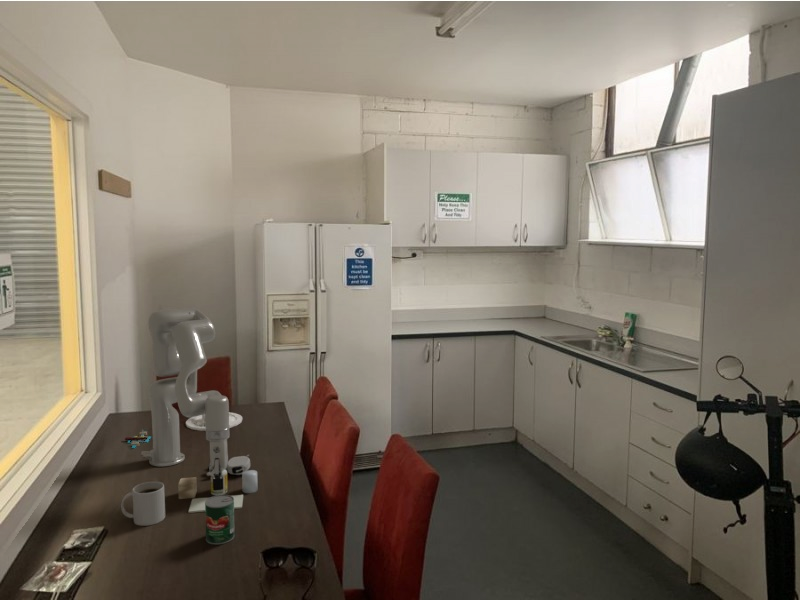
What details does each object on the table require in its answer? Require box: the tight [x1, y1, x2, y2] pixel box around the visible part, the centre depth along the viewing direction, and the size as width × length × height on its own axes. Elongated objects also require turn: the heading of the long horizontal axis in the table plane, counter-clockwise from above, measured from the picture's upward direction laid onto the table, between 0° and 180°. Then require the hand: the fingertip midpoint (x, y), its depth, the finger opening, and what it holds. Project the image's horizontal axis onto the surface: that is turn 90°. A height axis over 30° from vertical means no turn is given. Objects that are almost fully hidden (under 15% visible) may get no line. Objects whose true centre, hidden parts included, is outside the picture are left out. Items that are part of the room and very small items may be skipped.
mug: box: [120, 481, 166, 527], centre depth 178 cm, size 11×10×10 cm
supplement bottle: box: [210, 467, 228, 496], centre depth 197 cm, size 5×5×10 cm
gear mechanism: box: [124, 429, 152, 449], centre depth 247 cm, size 20×5×9 cm
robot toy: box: [206, 454, 251, 477], centre depth 214 cm, size 12×4×15 cm
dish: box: [185, 411, 243, 432], centre depth 272 cm, size 25×25×11 cm
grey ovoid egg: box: [241, 469, 259, 494], centre depth 199 cm, size 5×5×6 cm
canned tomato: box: [204, 494, 236, 545], centre depth 168 cm, size 8×8×11 cm
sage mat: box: [188, 494, 244, 514], centre depth 189 cm, size 16×9×1 cm, turn 102°
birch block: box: [177, 476, 198, 500], centre depth 195 cm, size 5×5×5 cm
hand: (219, 485), depth 197 cm, fingers closed on supplement bottle, 5 cm apart
